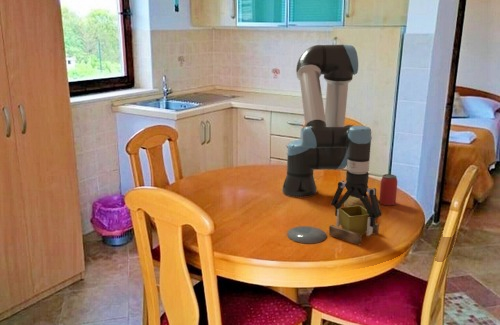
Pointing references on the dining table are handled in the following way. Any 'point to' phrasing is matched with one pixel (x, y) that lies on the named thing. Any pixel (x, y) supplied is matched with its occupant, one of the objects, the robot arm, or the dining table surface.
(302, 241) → the grey round disc
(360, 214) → the flower pot
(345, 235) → the wooden blocks
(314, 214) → the dining table surface
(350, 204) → the potato
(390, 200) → the beer can
